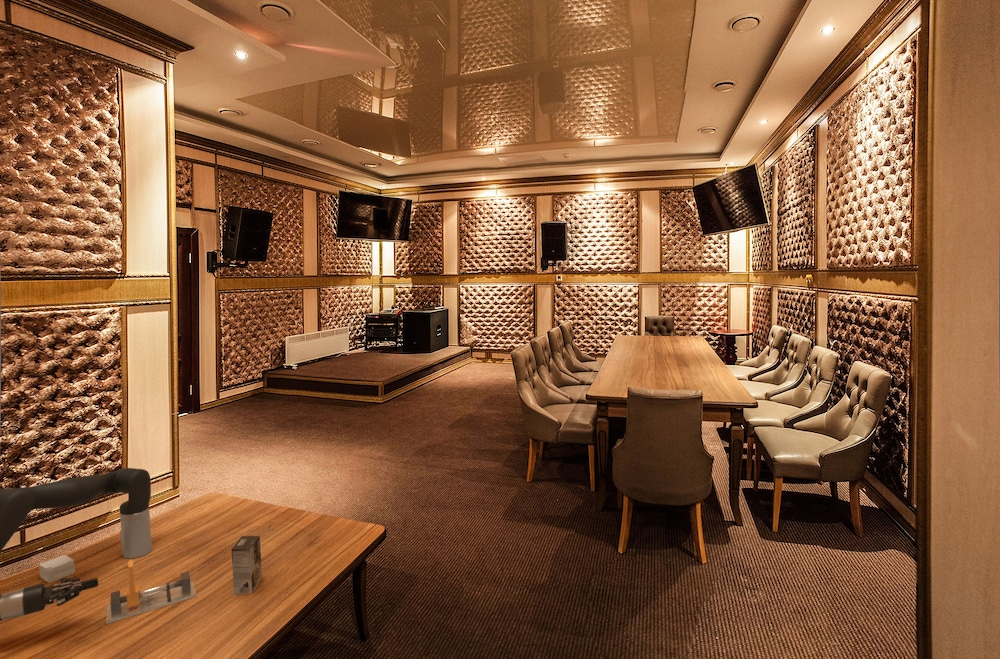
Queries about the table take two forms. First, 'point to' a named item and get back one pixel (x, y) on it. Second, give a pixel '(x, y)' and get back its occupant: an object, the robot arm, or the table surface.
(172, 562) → the table surface
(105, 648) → the table surface
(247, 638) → the table surface
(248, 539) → the coffee box
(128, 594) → the orange wooden plank
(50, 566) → the small box
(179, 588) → the pipe stand
